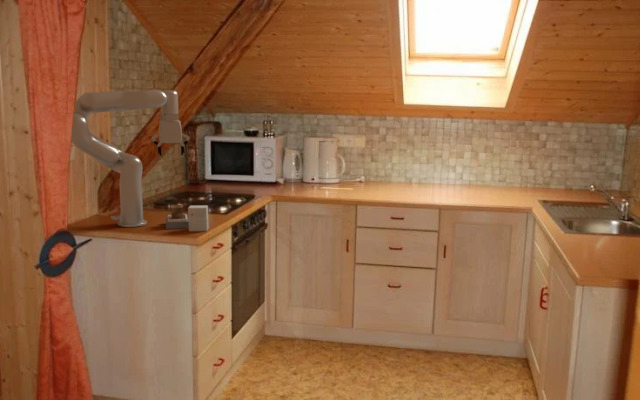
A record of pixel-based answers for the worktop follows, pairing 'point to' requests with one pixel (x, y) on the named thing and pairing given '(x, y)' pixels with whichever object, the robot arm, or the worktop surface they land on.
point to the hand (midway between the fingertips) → (171, 155)
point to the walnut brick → (177, 211)
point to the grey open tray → (177, 222)
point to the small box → (198, 218)
